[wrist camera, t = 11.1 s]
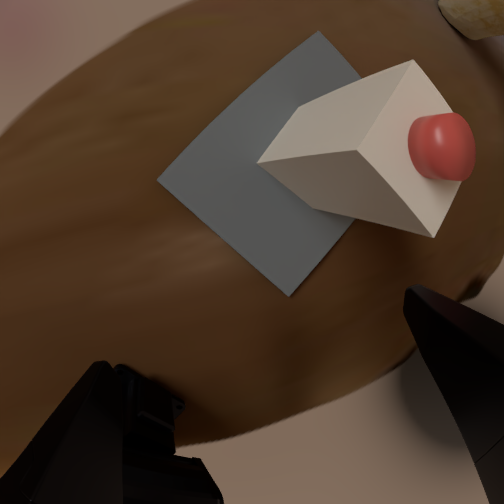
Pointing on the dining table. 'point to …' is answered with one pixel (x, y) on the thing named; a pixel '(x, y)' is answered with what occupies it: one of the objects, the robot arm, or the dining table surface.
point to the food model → (475, 17)
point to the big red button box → (377, 151)
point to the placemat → (255, 177)
